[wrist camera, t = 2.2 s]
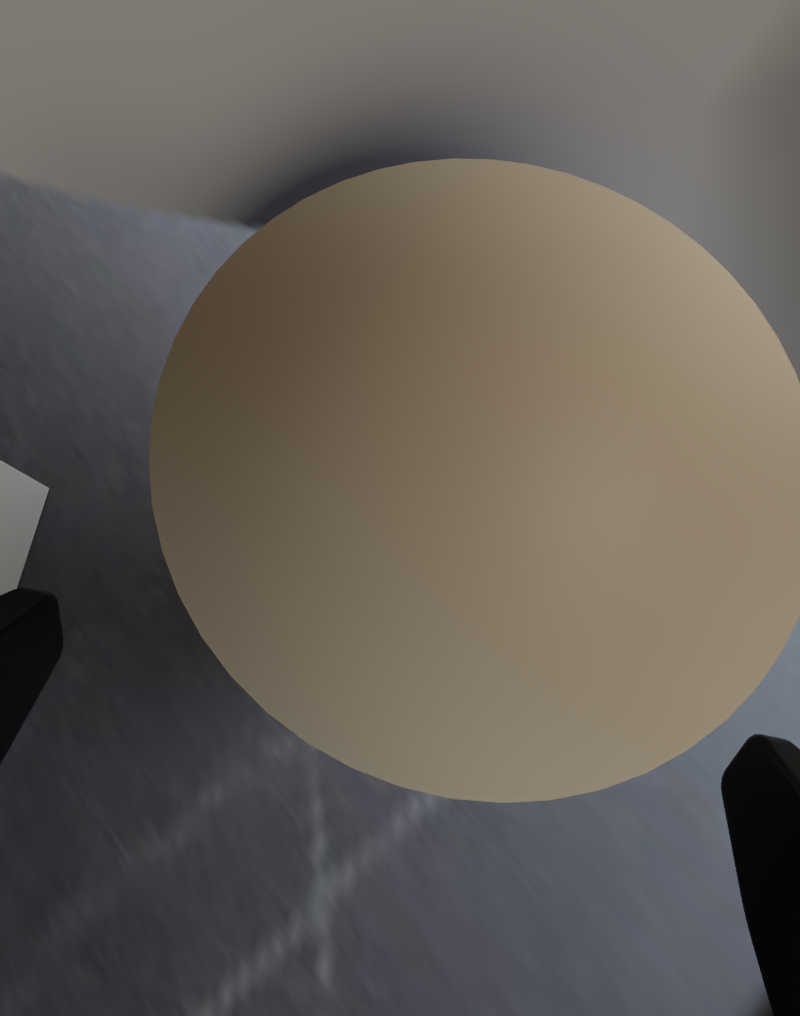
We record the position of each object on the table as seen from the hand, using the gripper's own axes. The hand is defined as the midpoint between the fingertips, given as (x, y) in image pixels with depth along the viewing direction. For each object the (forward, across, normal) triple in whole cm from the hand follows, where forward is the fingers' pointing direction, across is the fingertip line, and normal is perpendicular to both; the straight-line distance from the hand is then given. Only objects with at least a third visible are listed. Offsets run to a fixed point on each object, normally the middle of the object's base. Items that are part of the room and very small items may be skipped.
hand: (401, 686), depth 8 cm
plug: (+8, 0, +6) cm, 10 cm away
